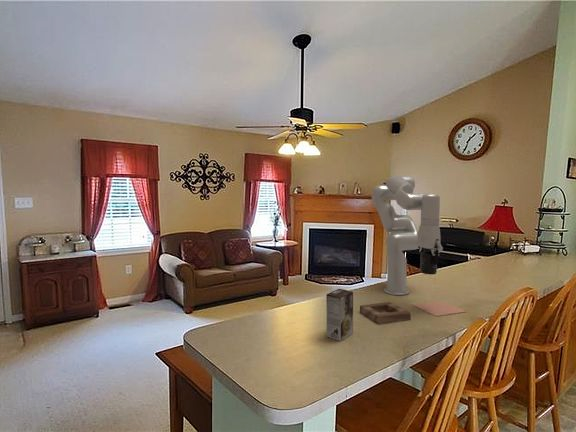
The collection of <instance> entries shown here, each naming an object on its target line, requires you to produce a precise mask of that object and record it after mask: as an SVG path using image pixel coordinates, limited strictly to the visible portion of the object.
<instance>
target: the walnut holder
mask: <svg viewBox="0 0 576 432" xmlns="http://www.w3.org/2000/svg"><path fill="white" fill-rule="evenodd" d="M359 313H360V314H362V315H363V316H365V317H367V318H368V319H369V320H371V321H373V322H374V323H376V324H377V325H384V324H389V323H390V324H391V323H398V322H406V321H411V319H412V318H411V317H412V315H411V314H412V313H411V311H408V310H406V309H404V308H402V307H400V306H398V305H396V304H394V303H392V302H391V301H385V302H378V303H369V304H368V303H367V304H362V305H361V304H360V305H359Z"/></svg>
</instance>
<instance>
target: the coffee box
mask: <svg viewBox="0 0 576 432" xmlns="http://www.w3.org/2000/svg"><path fill="white" fill-rule="evenodd" d="M353 334H354V291H352V290H347V289H345V288H344V289H343V288H337V289H335V290H333V291H331V292H329V293H326V338H328V337H330V338H329V339H332V338H333V339H332V340H335V339H336V340H335V341H338V340H339V342H342V341H344V340H345V339H347V338H348V337H349V336H351V335H353Z"/></svg>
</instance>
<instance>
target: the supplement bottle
mask: <svg viewBox="0 0 576 432" xmlns="http://www.w3.org/2000/svg"><path fill="white" fill-rule="evenodd" d="M434 248H435V247H434ZM423 250H424V251H423V252H422V253H421V261H420V263H419V264H420V265H419V271H420V273H421V274H424V275H432V276H433V275H436V274H437V270H438V264H437V265H431V255H432V252H431V249H426V248H423ZM435 251H436V250H434V252H435Z"/></svg>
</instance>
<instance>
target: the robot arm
mask: <svg viewBox="0 0 576 432" xmlns="http://www.w3.org/2000/svg"><path fill="white" fill-rule="evenodd" d="M415 187H416V182H415V178H413V177H412V176H411V175H392V176H389V177H388V178H387V179H386V181H385V184H379V185H376V186H374V187H373V188H372V189H371V201H372V204H373V206H374V207H375V209H376V211H377V213H378V215H379V218H380V222H381V224H382V226H383V229H384V231H385V232H386V233H388V234H387V235H386V238H385V245H386V251H387V254H386V255H387V258H386V260H387V263H386V264H387V267H386V268H387V270H386V271H387V272H386V275H387V276H386V281H384V285H386V287H385V288H383V292H384V293H386V294H387V295H393V296H407V295H409V294H410V290H409V289H408V288H407V257H406V255H405V253H404V252H403V251H412V250H413V251H414V250H417V249H418V251H419V261H420V262H421V253H422V252H423V251H424V250H423V248H426V249H431V252H432V255H431V265H437V266H438V265H439V256H440V254H441V253H442V251H443V249H444V247H443V246H442V244H441V229H440V228H441V227H440V210H441V209H440V207H441V206H440V205H441V197H440V195H439V194H437V193H434V194H433V193H432V194H431V193H419V192H418V193H415V192H414V189H415ZM388 201H395V202H396V205H398V206H399V207H401V208H402V209H403V210H406V211H420V224H419V227H418V229H417V227H416V226H417V225H416V224H415V222H414V219H413V218H412V217H411V216H409V215H406V214H398V213H396V209H395V208H394V207H393V205H392V204H391V203H389V202H388ZM434 247H435V248H434ZM434 250H435V252H434Z"/></svg>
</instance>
